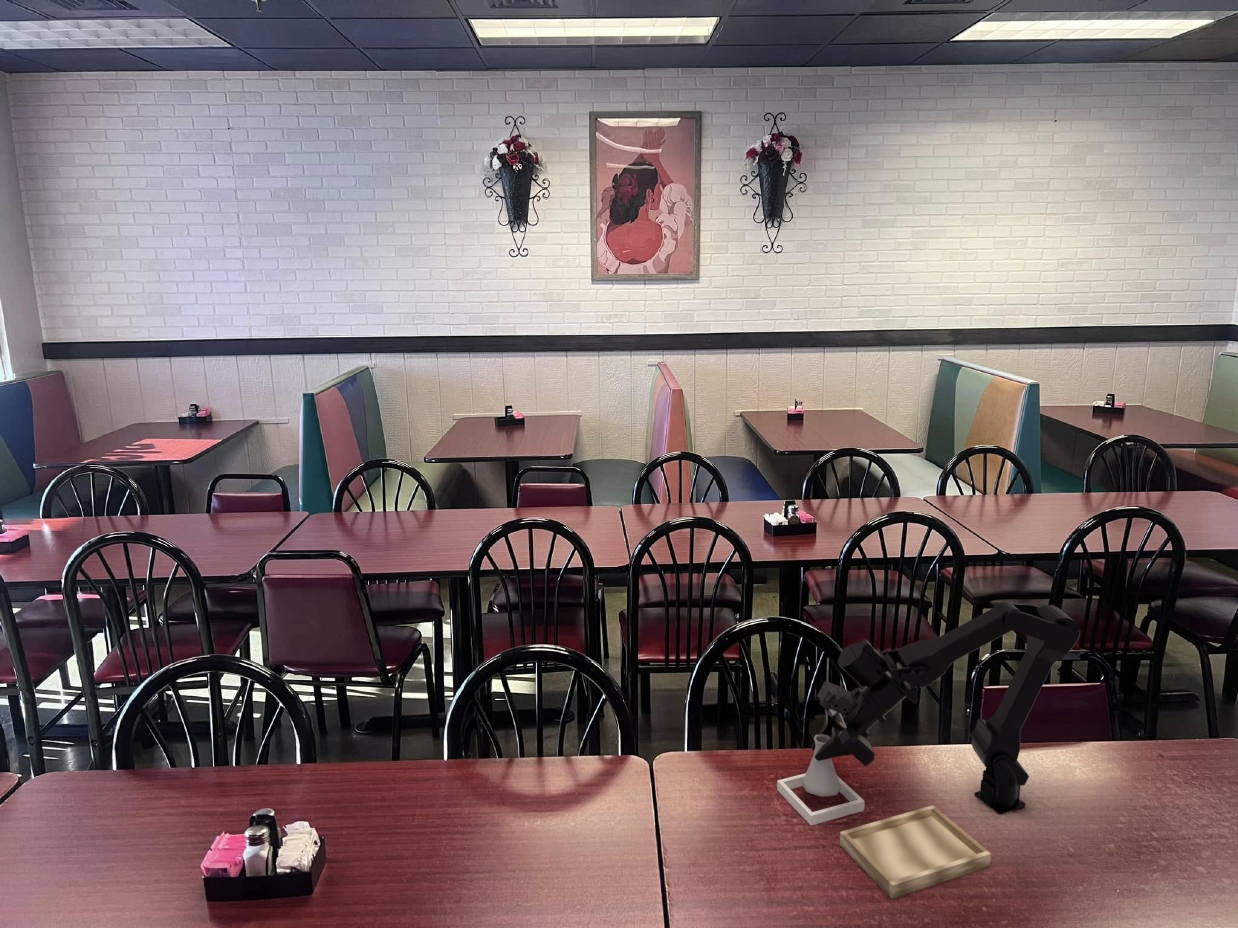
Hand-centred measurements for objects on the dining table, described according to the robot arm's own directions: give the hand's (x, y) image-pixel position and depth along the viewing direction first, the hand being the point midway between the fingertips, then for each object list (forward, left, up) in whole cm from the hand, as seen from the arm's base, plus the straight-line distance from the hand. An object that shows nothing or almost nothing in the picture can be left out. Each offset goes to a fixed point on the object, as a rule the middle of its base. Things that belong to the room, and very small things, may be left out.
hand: (814, 753), depth 155 cm
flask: (-1, +1, -7) cm, 7 cm away
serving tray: (-7, +20, -10) cm, 23 cm away
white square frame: (-1, +1, -10) cm, 10 cm away
